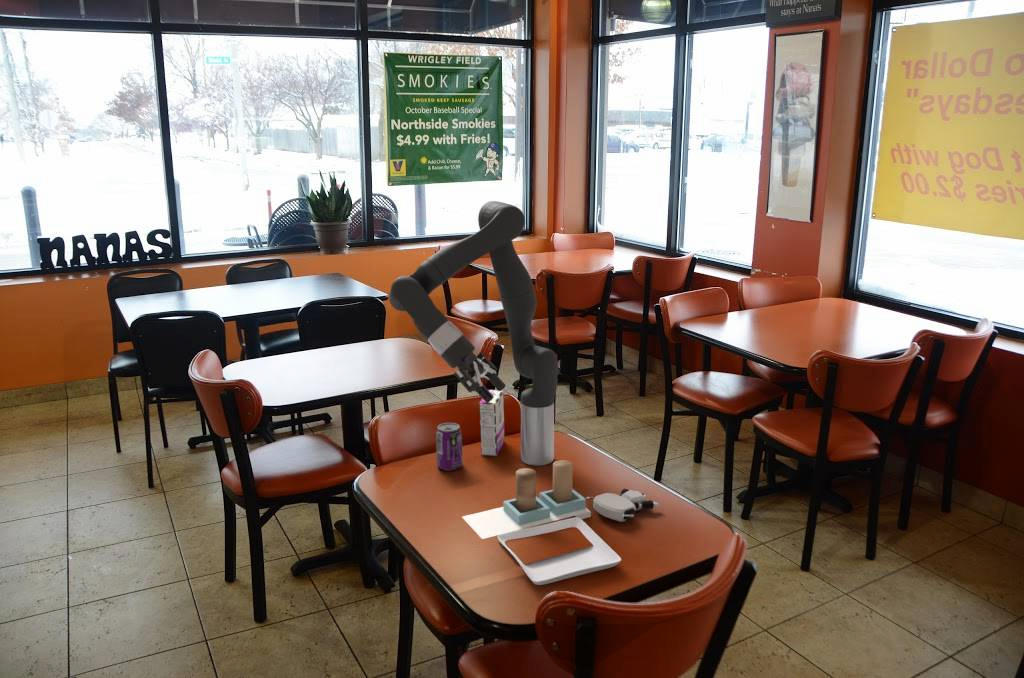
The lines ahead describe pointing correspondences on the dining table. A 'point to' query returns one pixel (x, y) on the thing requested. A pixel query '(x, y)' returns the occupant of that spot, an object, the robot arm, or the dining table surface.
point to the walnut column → (525, 490)
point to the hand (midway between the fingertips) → (497, 394)
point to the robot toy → (621, 504)
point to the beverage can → (449, 446)
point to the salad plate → (568, 562)
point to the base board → (548, 507)
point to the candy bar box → (492, 424)
